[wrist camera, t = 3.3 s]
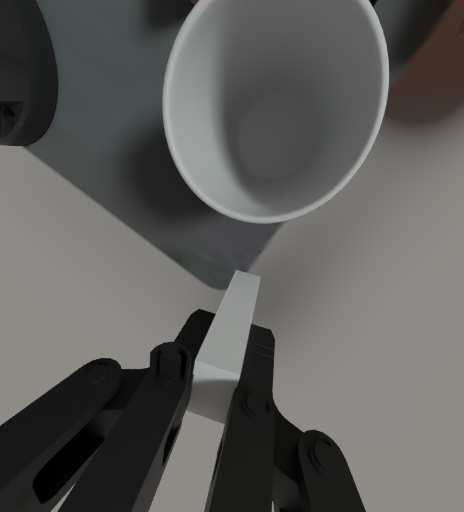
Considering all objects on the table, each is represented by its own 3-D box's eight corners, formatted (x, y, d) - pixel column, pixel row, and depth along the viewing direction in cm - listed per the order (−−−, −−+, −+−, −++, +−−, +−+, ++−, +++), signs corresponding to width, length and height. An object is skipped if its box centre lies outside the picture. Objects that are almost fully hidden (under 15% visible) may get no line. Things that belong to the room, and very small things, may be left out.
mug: (277, 215, 20) (274, 260, 11) (200, 152, 19) (128, 145, 10) (395, 81, 15) (574, -45, 6) (296, -12, 14) (321, -326, 5)
